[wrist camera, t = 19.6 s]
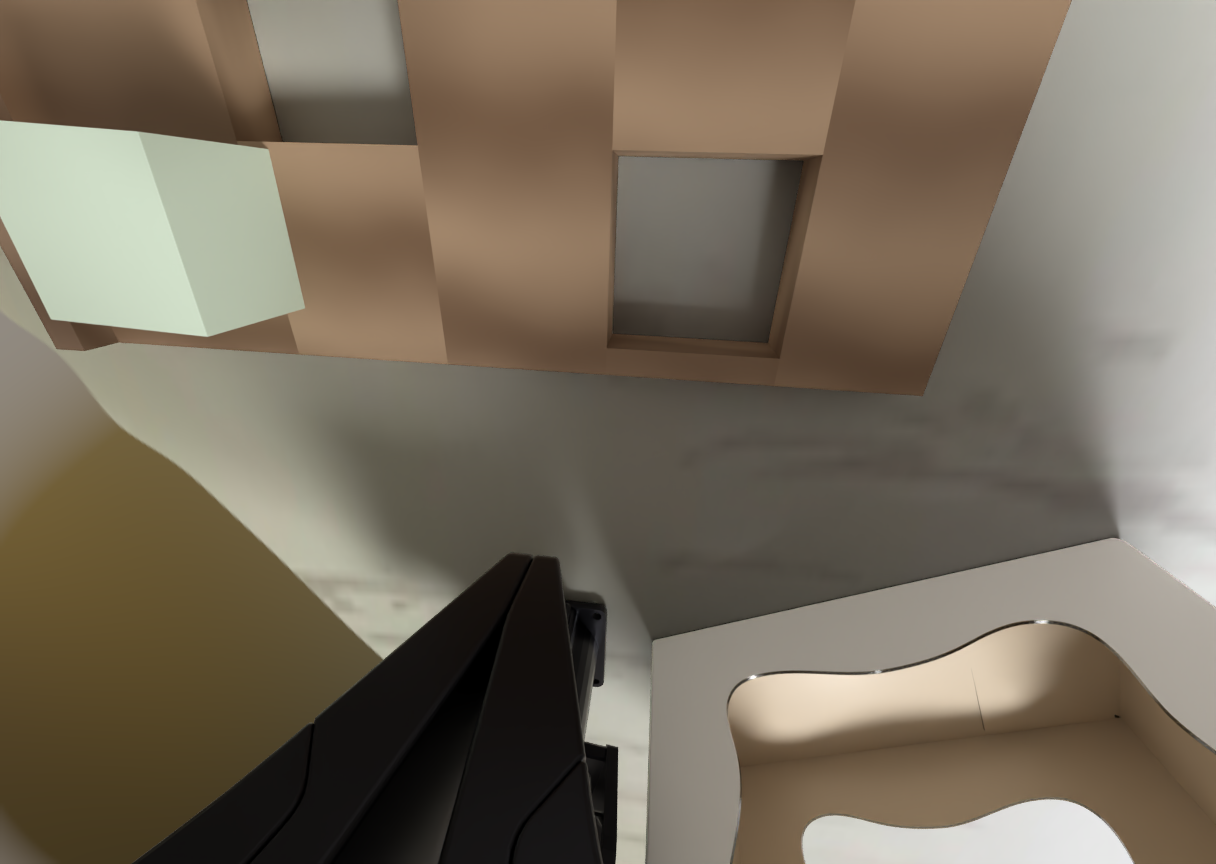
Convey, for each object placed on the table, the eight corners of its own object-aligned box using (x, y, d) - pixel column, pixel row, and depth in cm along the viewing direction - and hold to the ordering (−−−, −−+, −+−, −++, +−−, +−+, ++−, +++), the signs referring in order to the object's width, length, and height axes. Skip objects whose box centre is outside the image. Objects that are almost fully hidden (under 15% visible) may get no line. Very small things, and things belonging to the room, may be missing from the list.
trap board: (896, 376, 17) (941, 410, 14) (142, 328, 20) (56, 348, 17) (1082, -171, 11) (1229, -303, 8) (-62, -131, 14) (-253, -219, 11)
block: (305, 308, 17) (207, 337, 13) (179, 295, 17) (51, 319, 13) (268, 148, 14) (138, 131, 11) (123, 137, 15) (-50, 116, 11)
